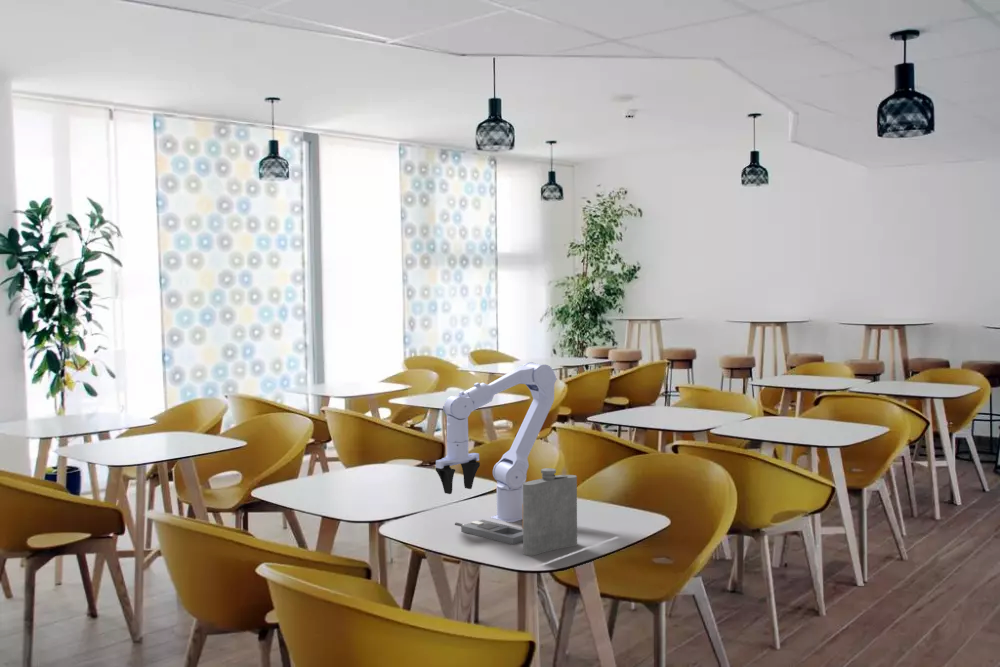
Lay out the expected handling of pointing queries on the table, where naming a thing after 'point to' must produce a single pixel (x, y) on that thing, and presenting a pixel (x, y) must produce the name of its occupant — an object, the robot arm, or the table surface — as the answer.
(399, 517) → the table surface
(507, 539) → the power strip
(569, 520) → the hip flask
